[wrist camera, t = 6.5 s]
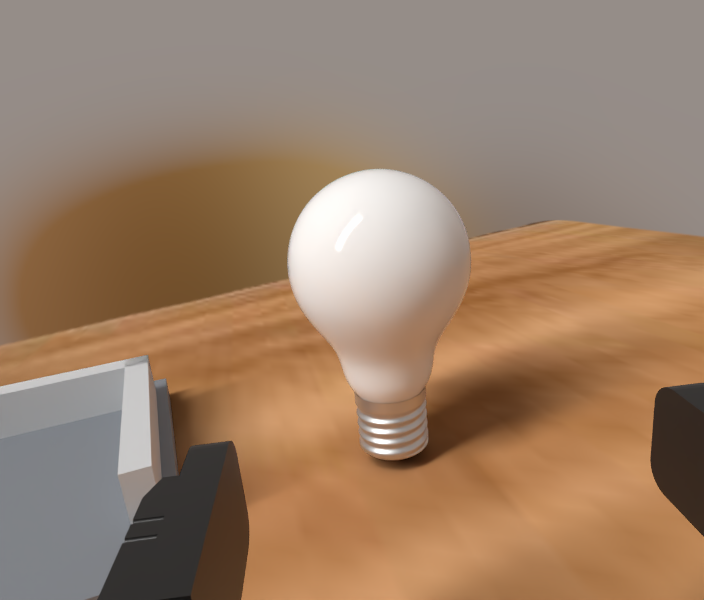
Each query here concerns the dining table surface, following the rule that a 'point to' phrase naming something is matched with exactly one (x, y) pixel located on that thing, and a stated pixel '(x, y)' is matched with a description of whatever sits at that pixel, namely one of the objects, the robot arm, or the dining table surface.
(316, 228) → the lightbulb
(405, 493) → the dining table surface
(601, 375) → the dining table surface
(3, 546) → the u holder
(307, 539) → the dining table surface
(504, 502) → the dining table surface
